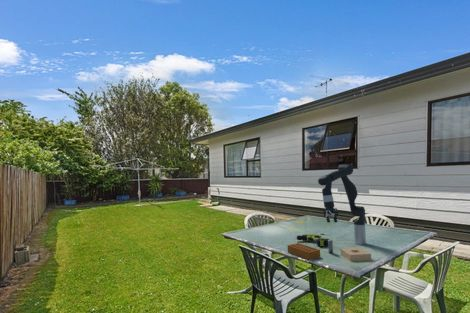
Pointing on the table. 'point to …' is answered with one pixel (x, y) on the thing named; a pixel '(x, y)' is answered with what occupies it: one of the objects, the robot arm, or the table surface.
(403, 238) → the table surface
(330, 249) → the chuck key
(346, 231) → the table surface
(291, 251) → the brick
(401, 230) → the table surface
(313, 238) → the cordless drill
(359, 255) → the block
